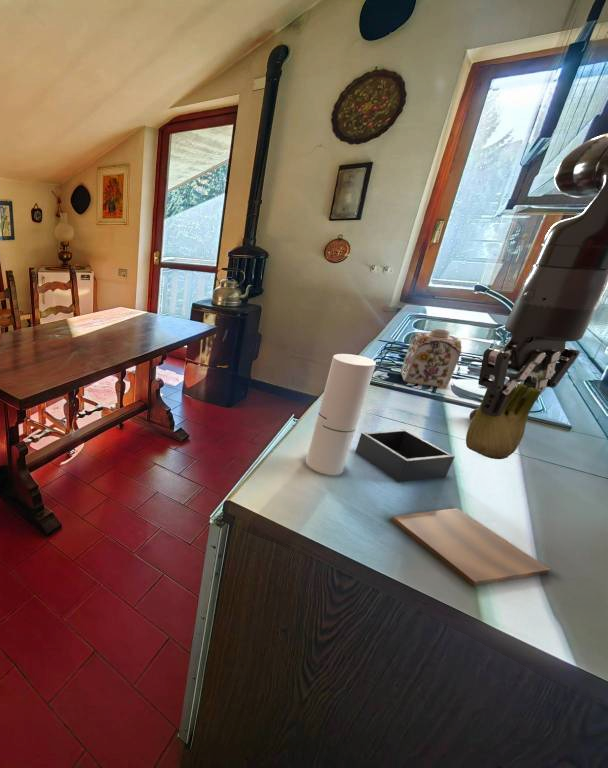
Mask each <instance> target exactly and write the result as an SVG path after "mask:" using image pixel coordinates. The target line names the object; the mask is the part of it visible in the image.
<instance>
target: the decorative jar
mask: <svg viewBox="0 0 608 768" xmlns="http://www.w3.org/2000/svg"><path fill="white" fill-rule="evenodd" d="M461 353H462V341H461V339H460V338H458V337H455V336H453V335H450V331H449V330H447V329H439V328H433V329H431V330H430V332H426V331H425V332H417V333H415V335H413V336H412V338H411V340H410V342H409V346H408V349H407V351H406V353H405V356H404V359H403V362H402V365H401V369H400V375H401V377H402V380H403V381H404V382H405V383H411V384H417V385H423V386H429V387H436V388H441V389H448V386H449V384H450V382H451V379H452V377H453V374H454V372H455V369H456V366H457V364H458V361H459V360H460V356H461ZM402 369H403V370H402ZM403 371H404V372H405V375H404V374H403Z"/></svg>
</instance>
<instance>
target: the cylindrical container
mask: <svg viewBox="0 0 608 768" xmlns="http://www.w3.org/2000/svg"><path fill="white" fill-rule="evenodd" d="M376 366H377V362H376V361H375V360H374V359H372V358H369V357H366V356H363V355H357V354H351V353H337V354H334V355H333V356H332V360H331V364H330V368H329V371H328V376H327V379H326V382H325V386H324V391H323V395H322V398H321V402H320V406H319V409H318V413H317V417H316V421H315V424H314V427H313V428H314V430H313V433H312V436H311V441H310V444H309V447H308V451H307V455H306V458H305V463H306V465H307V466H308V467H309V468H310V469H311V470H313V471H315V472H317V473H320V474H322V475H328V476H339V475H341V474H342V473H343V472H344V469H345V466H346V463H347V459H348V455H349V452H350V450H351V447H352V443H353V439H354V436H355V433H356V429H357V427H358V423H359V420H360V417H361V413H362V410H363V407H364V404H365V401H366V398H367V394H368V390H369V388H370V384H371V381H372V378H373V374H374V372H375V368H376Z"/></svg>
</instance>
